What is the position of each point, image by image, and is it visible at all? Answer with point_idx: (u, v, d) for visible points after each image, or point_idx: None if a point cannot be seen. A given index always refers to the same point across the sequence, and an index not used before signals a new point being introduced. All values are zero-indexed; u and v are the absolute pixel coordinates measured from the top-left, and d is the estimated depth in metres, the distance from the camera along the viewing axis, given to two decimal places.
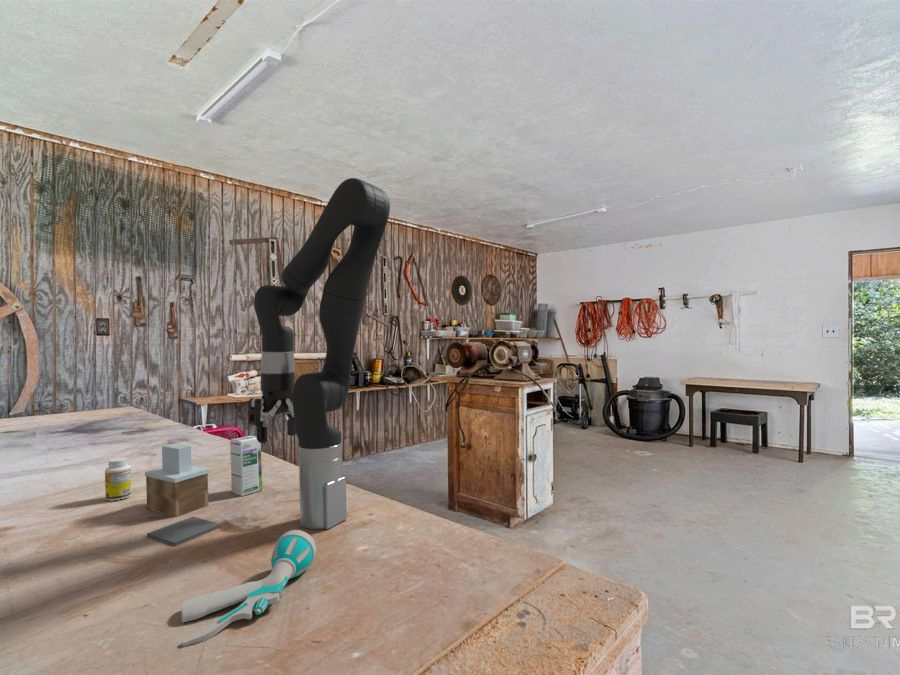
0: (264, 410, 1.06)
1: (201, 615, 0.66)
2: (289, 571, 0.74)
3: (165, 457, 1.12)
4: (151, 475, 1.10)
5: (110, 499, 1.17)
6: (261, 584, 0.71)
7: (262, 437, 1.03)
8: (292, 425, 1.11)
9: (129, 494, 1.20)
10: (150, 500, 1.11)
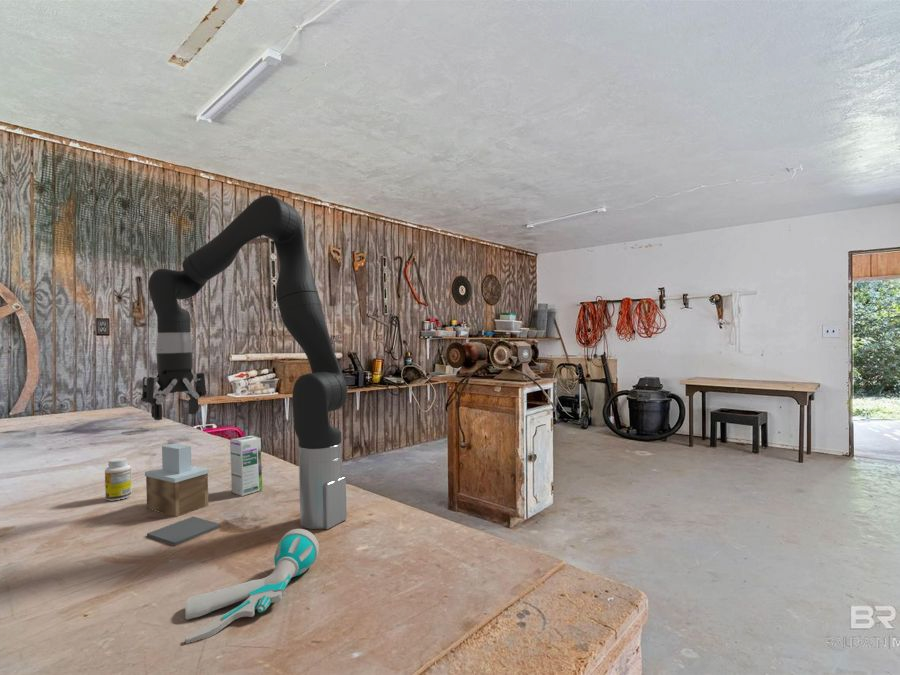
0: (161, 389, 1.10)
1: (204, 612, 0.67)
2: (291, 570, 0.74)
3: (165, 457, 1.12)
4: (151, 475, 1.10)
5: (110, 499, 1.17)
6: (264, 582, 0.72)
7: (156, 414, 1.07)
8: (192, 404, 1.15)
9: (129, 494, 1.20)
10: (150, 500, 1.11)
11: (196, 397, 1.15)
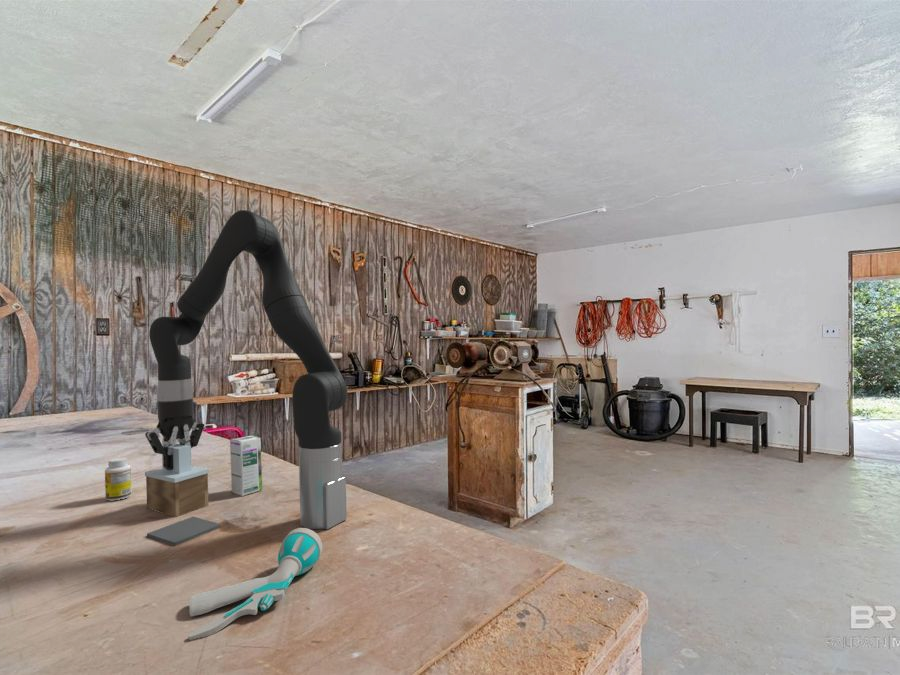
0: None
1: (208, 610, 0.68)
2: (294, 569, 0.75)
3: None
4: (151, 475, 1.10)
5: (110, 499, 1.17)
6: (267, 581, 0.72)
7: (168, 464, 1.10)
8: None
9: (129, 494, 1.20)
10: (150, 500, 1.11)
11: None
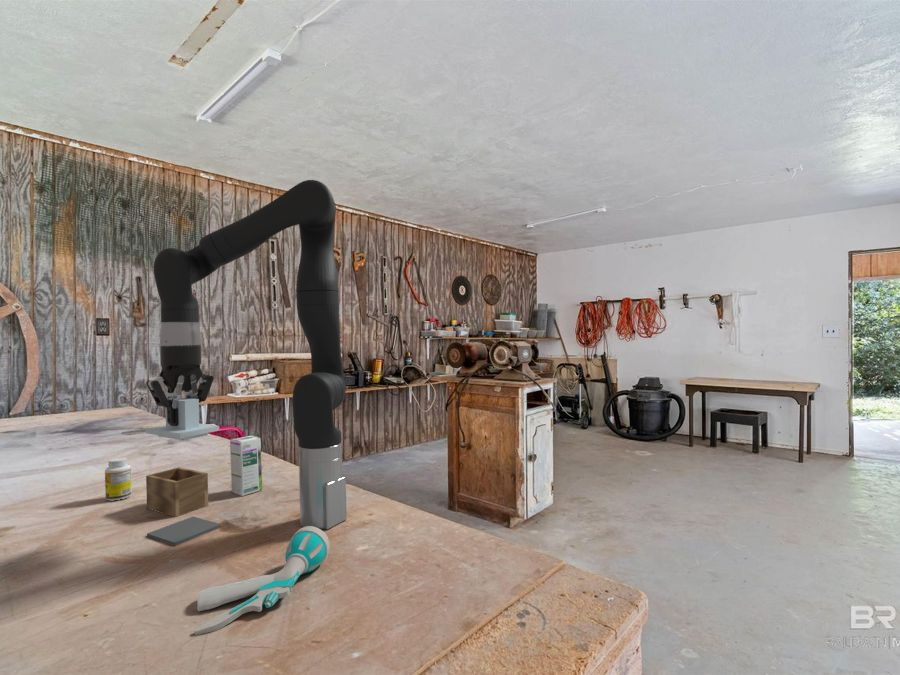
0: None
1: (215, 605, 0.69)
2: (301, 567, 0.75)
3: None
4: (153, 432, 0.95)
5: (110, 499, 1.17)
6: (273, 578, 0.73)
7: (173, 419, 0.95)
8: None
9: (129, 494, 1.20)
10: (150, 500, 1.11)
11: None
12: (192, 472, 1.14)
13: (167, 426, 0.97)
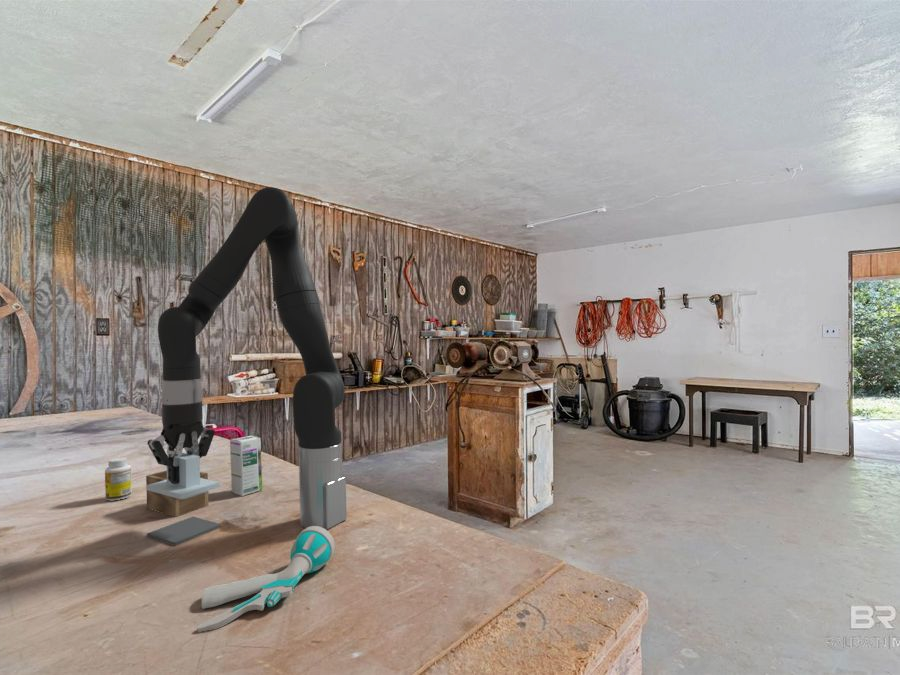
0: None
1: (219, 603, 0.69)
2: (304, 566, 0.75)
3: None
4: (154, 489, 0.95)
5: (110, 499, 1.17)
6: (277, 577, 0.73)
7: (174, 477, 0.95)
8: None
9: (129, 494, 1.20)
10: (150, 500, 1.11)
11: None
12: None
13: (168, 482, 0.98)
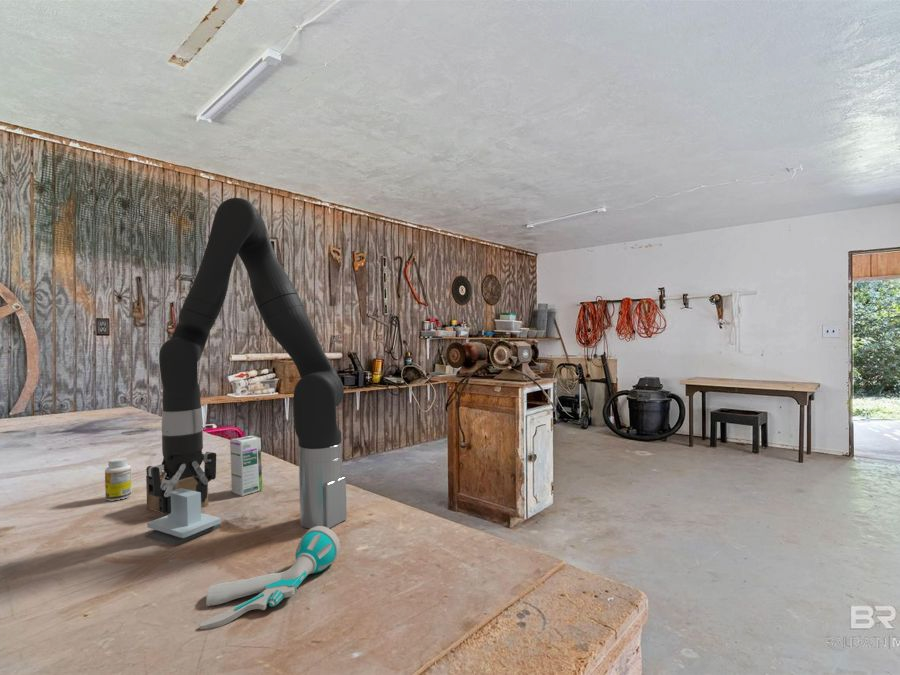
0: (168, 476, 0.96)
1: (223, 601, 0.70)
2: (308, 566, 0.75)
3: (171, 505, 0.97)
4: (155, 527, 0.95)
5: (110, 499, 1.17)
6: (280, 577, 0.73)
7: (165, 508, 0.93)
8: (201, 491, 1.00)
9: (129, 494, 1.20)
10: (150, 500, 1.11)
11: (205, 482, 1.00)
12: None
13: (169, 519, 0.97)
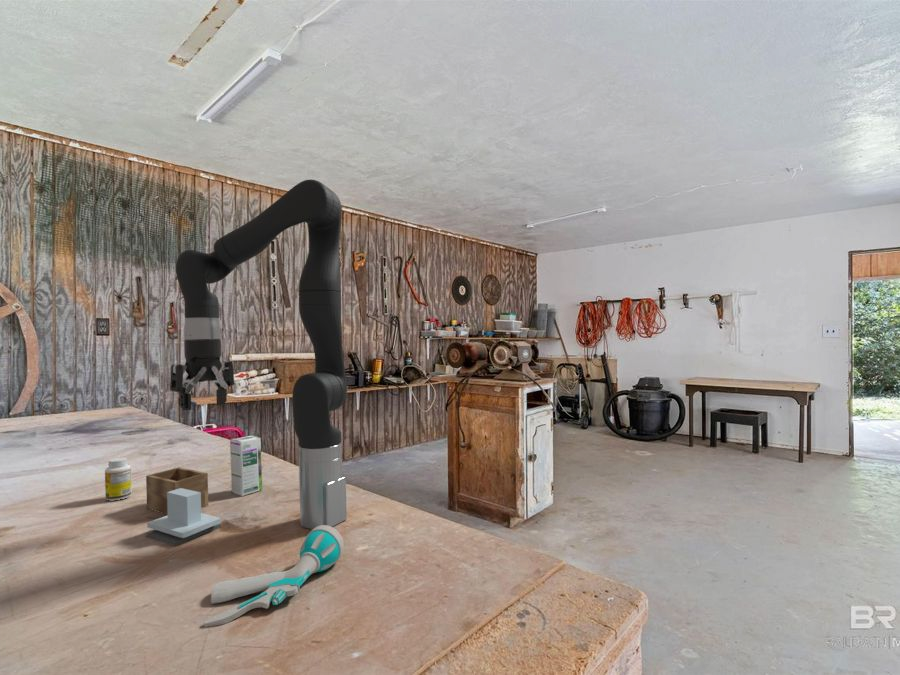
0: (189, 378, 1.04)
1: (227, 599, 0.70)
2: (312, 566, 0.76)
3: (171, 505, 0.97)
4: (155, 527, 0.95)
5: (110, 499, 1.17)
6: (284, 575, 0.74)
7: (186, 404, 1.01)
8: (221, 394, 1.09)
9: (129, 494, 1.20)
10: (150, 500, 1.11)
11: (225, 387, 1.09)
12: (192, 472, 1.14)
13: (169, 519, 0.97)
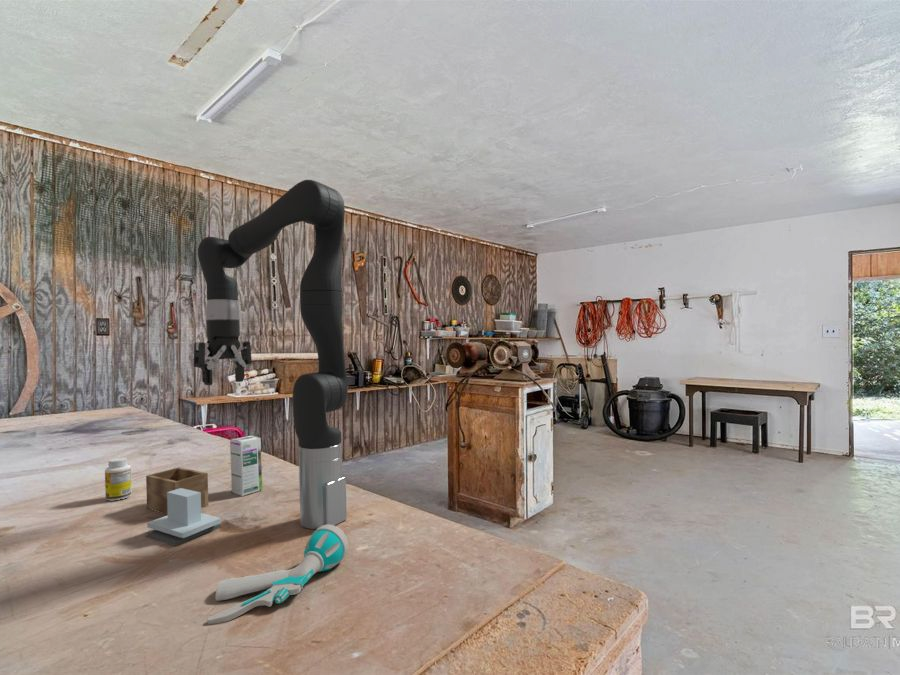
0: (210, 355, 1.12)
1: (232, 596, 0.71)
2: (315, 565, 0.76)
3: (171, 505, 0.97)
4: (155, 527, 0.95)
5: (110, 499, 1.17)
6: (288, 574, 0.74)
7: (207, 379, 1.09)
8: (239, 372, 1.17)
9: (129, 494, 1.20)
10: (150, 500, 1.11)
11: (243, 365, 1.17)
12: (192, 472, 1.14)
13: (169, 519, 0.97)
